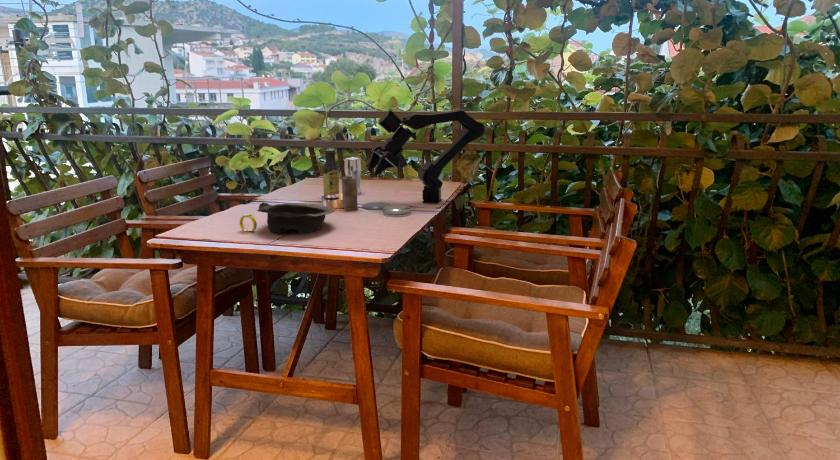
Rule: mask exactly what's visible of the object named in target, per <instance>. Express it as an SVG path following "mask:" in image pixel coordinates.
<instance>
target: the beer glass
mask: <svg viewBox="0 0 840 460" xmlns="http://www.w3.org/2000/svg"><path fill="white" fill-rule="evenodd" d="M344 174H345V176H346V175H352V177H353V176H354V177H355V178H356V181H357V195H360V194H362V189H361V178H362V162H361V157H357V156H351V157H345V158H344Z"/></svg>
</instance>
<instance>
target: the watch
mask: <svg viewBox="0 0 840 460" xmlns="http://www.w3.org/2000/svg"><path fill="white" fill-rule="evenodd" d="M244 218H249V219H250V220H251V221H252V225H253V227H252V229H251V230H252V231H253V232H254V230H255V231H256V229H257V226H258V225H257V221H256V220H257V219H256V218H255V217H254V215H252V213H243V214H242V216H241V217H240V219H239V226H240V229H241V230H242V231H243V230H244V229H247V228H246V227H245V225H244Z"/></svg>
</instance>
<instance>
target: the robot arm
mask: <svg viewBox="0 0 840 460" xmlns="http://www.w3.org/2000/svg"><path fill="white" fill-rule="evenodd" d="M450 122H458V123H459V124H460V125H461V126H462V127H463V128H462V130H461V132H460V134H459V136H458V137H457V138H456V139H454V141H453V142H452V143H451V144H450V145H449V146H448V147H447V148H446V149H445V150H444V151H443V152H442V153H441V154H440V155H438V157H437V158H436V159H435V160H434V161H429V160H426V161H425V163H424V164H423V165H422V166H420V167H419V171H418V179H419V180H420V181H422V184H423V189H422V203H426V204H439V203H440V202H442V201H443V198H442V187H443V184H444V183H443V181H442V180H441V179H439V177H440V176H441V174H442V171H443V169H444V168H445V167H446V166H447V165H448V164H449V163H450V162H451V161H452V160H453V159H455V157H456V156H457V155H458V154H459V153H460V152H461V151H462V150H463V149H464V148H466V147H467V145H468V144H470V143H472V142H474V141H476V140H477V139H479V138H480V137H482V136H483V135H485V129H486V128H485V125H484V123H482V122H480V121H478V120H476V119H475V118H473V117H472V116H470V115H469V114H467V112H466V111H464V110H462V109H456V110H450V111H449V110H448V111H444V112H443V111H442V112H436V113H428V114H427V113H413V112H412V113H409V114H407V115H406V117H401V118H400V117H398V116H397V115H396V114H395V113H394V111H392V110H390V109H389V110H388V111H387V112H385V113H384V114H383V115H381V117H380V118H379V119H378V120H377V124H378V125H379V126H381V127H382V129H384V130H385V131H386V132H387V133H388V134H390V133H392V134H393V135H392V136H391V137H388V138H387V142H386V143H385V144H384V145H382V146H380V145H378V144H377V145H374V147H373V148H371V150H372V151H371V155H370V160H369V162H368V167H367V171H368V172H371V171H372V170H373V169H374V168H375V167H376V168H375V170H374V173H373V175H374V176H375V177H377V176H378V175H379V174H381V173H383V172H384V171H385V170H387V169H389V168H393V169H394V168H399V169H401V170H402V169H403V168H405V167H406V166H408V165H409V164H408V162H407V160H406V158H405V156H404V155H403V151H404V148H403V147H404V146H405V145H406V144H407V143H408V141H409V140H410V139H412V140H415V141H416V140H417V132H415V131H416V130H421V129H423V128H424V129H425V128H426V127H429V126H431V125H436V124H443V123H450ZM404 126H406V127H404ZM411 129H412V130H415V131H412V130H411Z"/></svg>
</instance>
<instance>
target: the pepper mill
mask: <svg viewBox="0 0 840 460" xmlns="http://www.w3.org/2000/svg"><path fill="white" fill-rule="evenodd" d="M341 192H342V193H341V194H342V209H343V210H344V211H345V212H351V211H358V210H359V209H358V194H357V181H356V178H355V177H354V176H353V177H352V175H345V176H341Z"/></svg>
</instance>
